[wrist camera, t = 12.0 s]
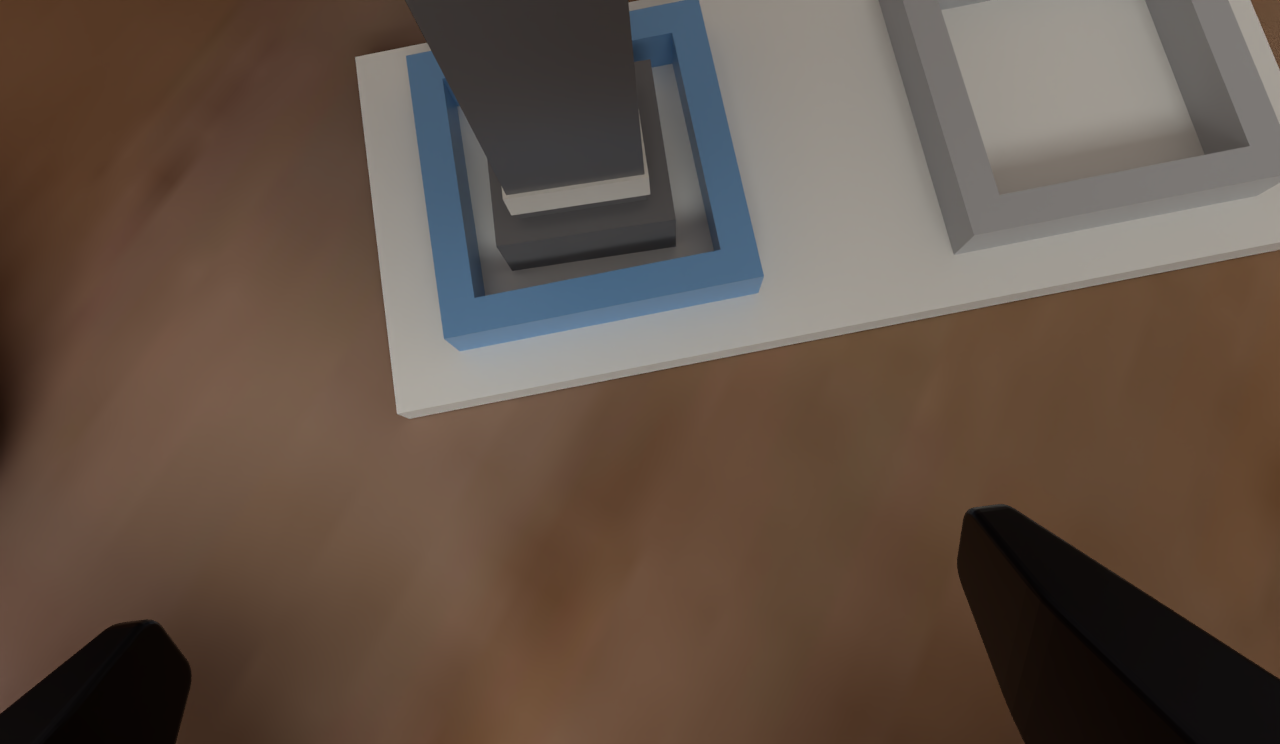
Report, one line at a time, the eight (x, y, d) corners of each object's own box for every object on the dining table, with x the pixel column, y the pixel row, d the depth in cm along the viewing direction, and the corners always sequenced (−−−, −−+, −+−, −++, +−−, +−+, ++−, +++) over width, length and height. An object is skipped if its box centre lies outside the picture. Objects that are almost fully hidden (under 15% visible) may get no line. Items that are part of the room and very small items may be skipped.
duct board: (1182, -88, 25) (1237, -155, 22) (1317, 242, 22) (1396, 206, 20) (367, 75, 25) (333, 26, 22) (409, 418, 22) (376, 405, 20)
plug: (675, 246, 22) (673, -133, 9) (511, 270, 22) (289, -72, 9) (652, 98, 23) (622, -423, 10) (496, 122, 23) (276, -365, 11)
